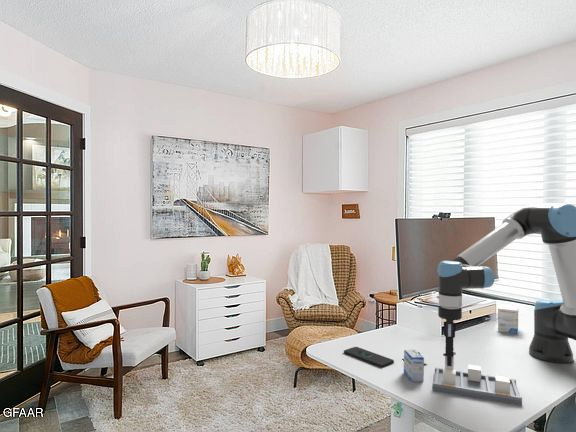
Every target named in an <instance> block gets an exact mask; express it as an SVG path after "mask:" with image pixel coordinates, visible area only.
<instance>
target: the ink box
mask: <svg viewBox="0 0 576 432" xmlns="http://www.w3.org/2000/svg"><path fill="white" fill-rule="evenodd" d="M497 331H498V332H500V333H507V334H515V335H519V334H518V333H519V307H518V306H513V305H512V306H511V305H504V304H499V305H498V307H497Z"/></svg>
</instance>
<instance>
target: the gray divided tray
mask: <svg viewBox="0 0 576 432" xmlns="http://www.w3.org/2000/svg"><path fill="white" fill-rule="evenodd" d="M495 376H496V375H488V374H483V373H481V382H477V381H471V380H468V371H463V370H462V371H461V370H456V386H455V385H449V384H443V367H441V368H440V367H437V366H436V367H434V374H433V382H432V391H435V392H439V393H440V392H441V393H446V394H452V395H458V396H465V397H469V398H470V397H471V398H475V399H481V400H486V401H487V400H488V401H495V402H499V403H505V404H510V405H511V404H512V405H517V406H523V397H522V396H521V394H520V392H519V389H518V385H517V380H516V378H509V380H510V394H504V393H498V392H497V393H496V391H495Z"/></svg>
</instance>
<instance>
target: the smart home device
mask: <svg viewBox="0 0 576 432" xmlns="http://www.w3.org/2000/svg"><path fill="white" fill-rule="evenodd" d="M343 354H344V355H347V356H349V357H352V358H355V359H358V360H360V361H362V362H366V363H368V364H370V365H372V366H375V367H378V368H381V369H383V368H386V367H388V366H391V365H393V364H395V363H394V362H395V360H394V359H392V358H390V357H387V356H384V355H380V354H378V353H375V352H374V351H373V352H372V351H371V350H370V351H369V350H367V349H364V348H361V347H359V346H353V347H349V348H347V349H345V350H343Z"/></svg>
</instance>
